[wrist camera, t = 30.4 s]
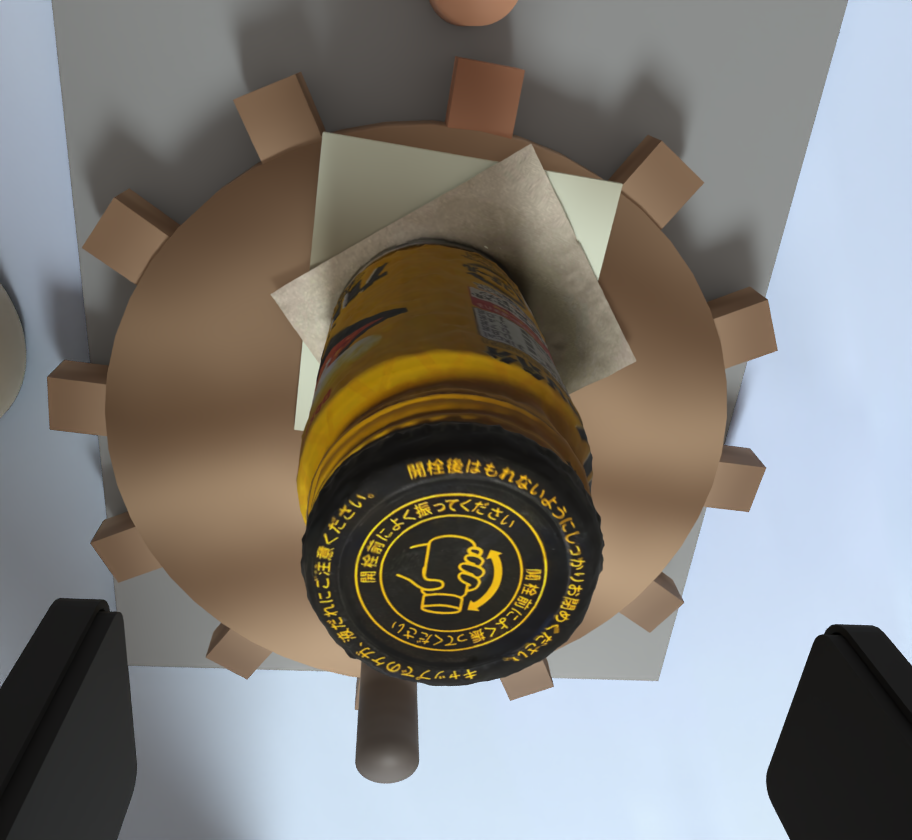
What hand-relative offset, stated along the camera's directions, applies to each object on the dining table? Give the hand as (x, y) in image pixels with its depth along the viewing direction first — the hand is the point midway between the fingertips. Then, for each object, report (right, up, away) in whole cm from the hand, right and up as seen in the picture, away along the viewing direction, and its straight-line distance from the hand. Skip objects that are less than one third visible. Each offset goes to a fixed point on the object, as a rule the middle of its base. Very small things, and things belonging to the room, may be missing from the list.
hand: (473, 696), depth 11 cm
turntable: (-1, +4, +17) cm, 18 cm away
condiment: (0, +7, +13) cm, 15 cm away
